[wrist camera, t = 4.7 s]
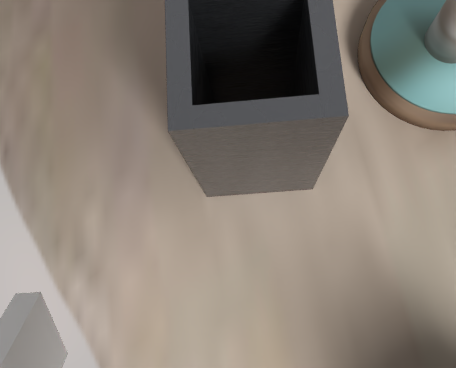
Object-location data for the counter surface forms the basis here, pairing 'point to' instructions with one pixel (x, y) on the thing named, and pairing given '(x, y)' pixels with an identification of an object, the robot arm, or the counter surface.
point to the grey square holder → (254, 91)
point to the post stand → (412, 60)
